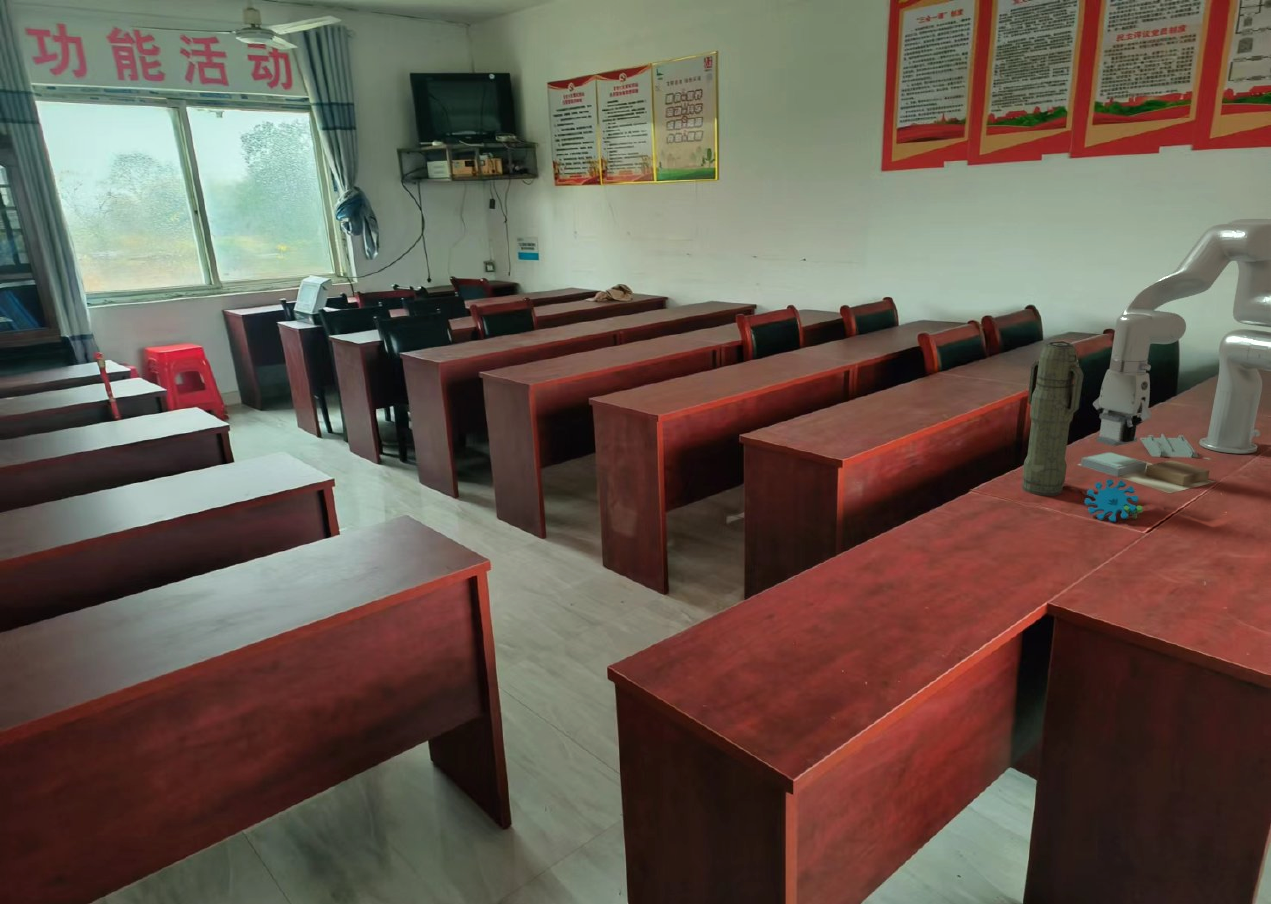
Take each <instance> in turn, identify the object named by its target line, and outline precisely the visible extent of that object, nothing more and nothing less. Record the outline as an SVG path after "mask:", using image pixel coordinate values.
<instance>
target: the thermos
mask: <svg viewBox="0 0 1271 904" xmlns="http://www.w3.org/2000/svg"><path fill="white" fill-rule="evenodd" d="M1077 364H1078V353H1077V350H1076V346H1075V345H1073V344H1072V343H1071V342H1067V341H1065V342H1063V341H1053V342H1052V341H1050V342H1048V343H1046V344H1044V346H1043V348H1042V350H1041V352H1040V355H1039V359H1038V360H1036V361H1035V362H1034V363H1033V364H1032V365H1031V368H1030V377H1029V385H1028V386H1029V387H1028V394H1027V395H1028V396H1027V397H1028V398H1027V401H1028V402H1027V404H1029V405H1030V410H1029V411H1030V412H1029V418H1030V420H1031V423H1030V431H1029V440H1028V446H1027V447H1028V449H1027V455H1026V458H1025V459H1024V462H1023V469H1022V485H1021V488H1022V490H1024V491H1025V492H1026V493H1028V494H1033V495H1036V496H1037V495H1038V496H1046V497H1047V496H1049V497H1052V496H1053V497H1054V496H1059V495H1061V494H1062V493H1063V491H1064V489H1063V487H1064V483H1065V481H1066V473H1067V462H1066V454H1067V445H1068V439H1069V433H1070V432H1069V430H1070V424H1071V422H1072V421H1073V417H1074V413H1076V412H1077V411H1078V410H1079V408H1080V399H1081V392H1082V387H1083V381H1084V373H1083V370H1082V368H1081V367H1078V366H1077Z"/></svg>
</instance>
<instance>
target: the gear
mask: <svg viewBox="0 0 1271 904" xmlns="http://www.w3.org/2000/svg"><path fill="white" fill-rule="evenodd" d="M1105 482H1106V487H1105V488H1104V489H1102V488H1103V484H1102V482H1095V483H1094V487H1095V488H1096V490H1098V492H1097V494H1095V493H1094V490H1093V488H1089V489H1088V490H1087V491H1086V495H1087V496H1089V497H1092V498H1093V499H1095V500H1094V501H1092V499H1090V498H1089V497H1086V498H1085V499H1084V504H1085V505H1086V506H1089V505H1090V506H1089V507H1088V509H1087V510H1088V512H1089V514H1090V515H1093V514H1095V513H1097V512H1101V513H1097V515H1096V518H1097V519H1098V520H1099V521H1103V520H1104V519H1105V517H1106V516H1107V515H1108V514H1111V515H1110V516H1108V520H1109V522H1114V523H1115V522H1116V521H1117V518H1116V516H1117V515H1118V512H1121V513H1120V518H1121V519H1122V520H1124V519H1128V518H1129V515H1130V516H1132V518H1133V519H1135V520H1136V519H1137V518H1138V514H1140V513H1143V510H1144V509H1143V506H1142V505H1135V503H1138V502H1139V496H1138V495H1127V494H1126V493H1129V494H1134V493H1135V489H1134V486H1128V487H1127V488H1125V487H1126V482H1125V481H1124V480H1123V479H1121V480H1119V481H1118V483H1117V484H1116V485H1115V486H1114V487H1111V486H1113V485H1114V479H1110V478H1109V479H1106V481H1105ZM1119 488H1123V489H1119ZM1128 500H1131V502H1133V503H1134V504H1131V503H1130V502H1129V501H1128ZM1092 505H1094V506H1097V507H1093V506H1092ZM1102 511H1103V512H1102Z"/></svg>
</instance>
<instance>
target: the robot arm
mask: <svg viewBox="0 0 1271 904" xmlns="http://www.w3.org/2000/svg"><path fill="white" fill-rule="evenodd" d="M1235 261H1236V264H1237V267H1238V277H1237V281H1236V282H1237V283H1236V288H1235V294H1234V301H1233V308H1232V316H1233V319H1234V320H1235V321H1236V322H1237V323H1240V324H1242V325H1243V324H1244V325H1248V326H1256V327H1257V326H1258V327H1265V328H1271V218H1241V219H1236V220H1232V221H1229V222H1228V223H1223V224H1222V223H1221V224H1217V225H1213V226H1211V227H1209V228H1207V229H1206V230H1205V231H1204V232H1203V234H1202V235H1201V236H1200V237H1199V239H1198V240H1197V241H1196V242H1195V244H1194V245H1193V247H1192V248H1191V249H1190V250H1189V252H1188V253H1187V255H1186V256H1185V257H1184V258H1183V260H1182V261H1181V262H1180V263H1179V265H1178V267H1177V268H1176V269H1175V270H1174V271H1172V272H1171V273H1169V274H1167V275H1165V276H1163V277H1161V278H1159V279H1157V280H1155V281H1154V282H1152V283H1151V284H1149V285H1147V286H1145V287H1144V288H1143V289H1141V290H1140V291H1139V292H1137V294H1135V296H1133V298H1132V299H1131V300H1130V302H1129V303H1128V305H1127V306H1126V307H1125V309H1124V311H1122V314H1120V315H1119V316H1118V317H1117V318H1116V321H1115V329H1114V335H1113V336H1114V337H1113V341H1112V350H1111V356H1110V362H1109V363H1110V364H1109V368H1108V369H1107V370H1106V372H1105V375H1104V378H1103V381H1102V384H1101V387H1100V394H1099V397H1098V398H1097V399H1095V400H1094V401H1093V403H1092V406H1093V407H1094V408H1095V409H1096V410H1097V413H1098V414H1099V415H1100V414H1102V413H1108V412H1113V411H1114V412H1119V413H1123V414H1126V419H1127V426H1125V428H1124V434H1123V442H1130V441H1133V440H1134V438H1135V437H1136V435H1135V433H1137V428H1136V426H1137V427H1138V426H1139V425H1140V424H1142V423H1143V422H1145V421H1146V420H1148V419H1151V418H1152V417H1153V415H1152V412H1151V411H1150V409H1149V405H1150V393H1151V391H1150V390H1151V388H1150V387H1151V386H1150V385H1151V382H1150V373H1148V372H1147V371H1150V370H1151V368H1152V367H1151V365H1150V364H1148V359H1149V353H1150V346H1151V344H1152V345H1153V344H1155V345H1156V344H1158V345H1169V344H1173V343H1175V342H1177V341H1179V340H1180V339H1181V338H1183V336H1184V334H1185V333H1186V330H1187V322H1186V320H1185V318H1184V317H1182V316H1181V315H1180V314H1178V313H1175V312H1169V311H1160V310H1156V309H1158V308H1160V307H1161V306H1163V305H1165V304H1167V303H1170V302H1173V301H1176V300H1180V299H1184V298H1188V297H1192V296H1195V295H1198V294H1202V293H1204V292H1207V291H1208V290H1209V289H1210V288H1211V287H1212V285H1213V284H1214V283H1215V282H1216V280H1217V279H1218V278H1219V277H1220V275H1221V274H1222V273H1223V271H1224V270H1225V269H1226V267H1228V265H1229V264H1230V263H1231V262H1235ZM1218 347H1219V349H1218V357H1219V359H1218V361H1219V367H1218V368H1219V369H1218V379H1217V384H1216V390H1215V394H1214V400H1213V407H1212V411H1211V417H1210V420H1209V421H1210V422H1209V427H1208V432H1207V436H1206V437H1203V438H1201V439H1199V442H1198V443H1199V445H1200V446H1201V447H1202V448H1205V449H1207V450H1210V451H1215V452H1219V453H1221V452H1222V453H1226V454H1227V453H1228V454H1239V455H1242V454H1253V453H1255V452H1257V450H1258V445H1257V444H1256V443H1254V442H1252V440H1253V438H1257V437H1259V436H1260V435H1261V432H1260V430H1259V429H1255V424H1256V420H1257V414H1258V409H1259V405H1260V399H1261V395H1262V389H1263V380H1262V376H1261V374H1260V372H1259V370H1262V371H1265V372H1266V371H1267V372H1271V331H1264V330H1256V329H1246V328H1245V329H1244V328H1243V329H1234V330H1231V331H1230V332H1227V333H1226V334H1225V335H1224V336H1223V338H1221V341H1220V343H1219V346H1218ZM1138 413H1139V414H1141V416H1139V414H1138ZM1132 416H1133V417H1132ZM1100 420H1101V421H1102V418H1100Z"/></svg>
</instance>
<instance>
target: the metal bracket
mask: <svg viewBox="0 0 1271 904" xmlns="http://www.w3.org/2000/svg"><path fill="white" fill-rule="evenodd" d="M1139 440H1140V441H1141V442H1142V444H1143V446H1144V447H1145V448H1146V450H1147V452H1148V453H1149V455H1150V456H1151V457H1159V458H1163V457H1165V458H1168V457H1169V458H1180V459H1181V458H1189V459H1190V458H1192V459H1193V458H1200V456H1199V455H1198V453H1197V451H1196V450H1195V449H1194V448H1193V446H1192V445H1191V444H1190V443H1189V441H1188V440H1187V438H1185V436H1184V434H1182V435H1181V434H1179V435H1178V437H1165V435H1164V433H1161V436H1160V437H1154V435H1153V434H1148V437H1140V438H1139ZM1204 459H1205V460H1209V461H1211V458H1210V457H1204Z"/></svg>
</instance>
